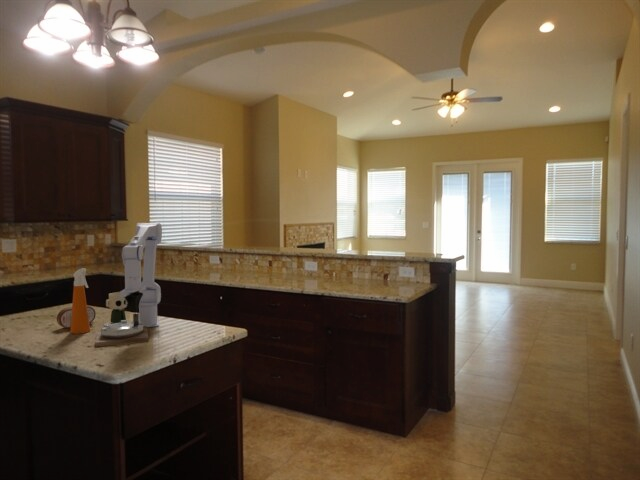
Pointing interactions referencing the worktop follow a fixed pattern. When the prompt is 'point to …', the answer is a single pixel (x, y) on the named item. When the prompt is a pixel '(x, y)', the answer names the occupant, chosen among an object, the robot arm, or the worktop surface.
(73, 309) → the spray bottle
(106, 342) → the base board
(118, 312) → the character mug
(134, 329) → the grey disc with blocks
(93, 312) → the tin
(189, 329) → the worktop surface
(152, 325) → the robot arm
